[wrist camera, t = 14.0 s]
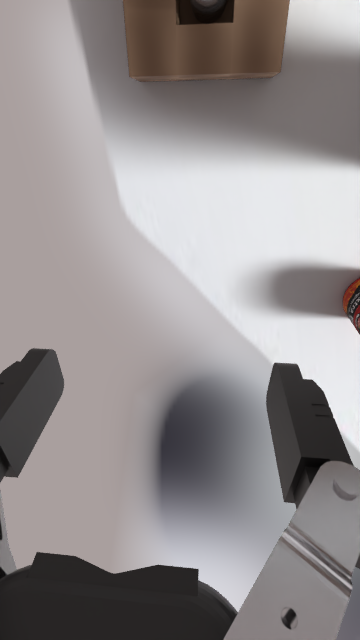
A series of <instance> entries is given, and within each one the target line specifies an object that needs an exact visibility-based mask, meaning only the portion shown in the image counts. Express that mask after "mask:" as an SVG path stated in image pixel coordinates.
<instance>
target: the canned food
mask: <svg viewBox="0 0 360 640" xmlns="http://www.w3.org/2000/svg"><path fill="white" fill-rule="evenodd" d="M343 308H344V311H345V313H346V314H347V316H348V317H349V319H350V320H351V322H352V323H353V325H354V326H355V328H356V330H357V331H358V333H359V334H360V278H359V279H357V280H356V281H355V282H353V283H352V284H351V285H350V286H349V287H348V289H347V290H346V292H345V294H344V297H343Z"/></svg>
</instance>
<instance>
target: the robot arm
mask: <svg viewBox="0 0 360 640" xmlns="http://www.w3.org/2000/svg"><path fill="white" fill-rule="evenodd" d="M63 388H64V379H63V376H62V372H61V368H60V365H59V362H58V358H57V355H56V352H55V351H54V350H52V349H34V348H33V349H31V350H29V351H28V353H27V354H26V355H25V357H24V358H23V359H22V361H21V362H18V361H16V362H15V363H13V364H12V365H11V366H9V367H8V368H7V369H5V370H4V371H3V372H2V373H1V374H0V482H1V480H2V479H3V477H4V476H6V477H18V476H19V474H20V472H21V470H22V468H23V467H24V465H25V463H26V461H27V459H28V457H29V455H30V453H31V452H32V450H33V448H34V446H35V444H36V442H37V440H38V438H39V437H40V435H41V433H42V431H43V429H44V427H45V425H46V423H47V422H48V420H49V418H50V416H51V414H52V412H53V410H54V408H55V407H56V405H57V403H58V401H59V399H60V397H61V395H62V392H63ZM266 399H267V400H266V402H267V403H266V405H267V413H268V418H269V424H270V429H271V434H272V440H273V445H274V450H275V456H276V461H277V467H278V472H279V477H280V483H281V488H282V493H283V499H284V502H288V503H295V504H296V509H297V510H296V512H295V514H294V516H293V518H292V519H291V521H290V523H289V525H288V527H287V528H286V529H285V530H284V532H283V533H282V535H281V537H280V538H279V540H278V542H277V544H276V545H275V547H274V549H273V551H272V553H271V555H270V556H269V558H268V560H267V562H266V563H265V565H264V567H263V569H262V571H261V572H260V574H259V576H258V578H257V580H256V582H255V583H254V585H253V587H252V589H251V591H250V592H249V594H248V596H247V598H246V600H245V601H244V604H243V605H242V607H241V609H240V610H239V612H237V611H236V610H235V608H234V607H233V606H232V605H231V604H230V603H229V602H228V601H227V599H225V598H224V597H223V596H222V595H221V594H220V593H219V592H217V591H216V590H215V589H213V588H212V587H210V586H209V585H207V584H205V583H203V582H201V581H199V580H198V569H193V568H183V567H173V566H164V565H155V566H150V567H145V568H141V569H136V570H132V571H127V572H122V573H117V574H113V573H109V572H107V571H105V570H103V569H101V568H99V567H97V566H95V565H93V564H91V563H89V562H86V561H84V560H82V559H80V558H78V557H76V556H68V555H59V554H50V553H40V552H37V553H36V556H35V558H34V561H33V564H32V565H29V566H26V567H24V568H21V569H18V570H17V569H16V565H15V562H14V559H13V556H12V554H11V551H10V548H9V544H8V538H7V531H6V524H5V518H4V512H3V504H2V497H1V491H0V640H336V637H337V634H338V631H339V628H340V625H341V622H342V619H343V616H344V614H345V611H346V607H347V605H348V601H349V599H350V595H351V591H352V582H351V578H352V574H353V570H354V568H355V567H357V568H359V569H360V470H359V469H357V468H356V467H354V465H353V463H352V461H351V459H350V456H349V454H348V451H347V449H346V447H345V444H344V441H343V439H342V437H341V434H340V432H339V429H338V427H337V424H336V422H335V419H334V418H333V414H332V412H331V409H330V407H329V404H328V402H327V399H326V397H325V394H324V392H323V391H322V389H321V388H320V387H319V386H318V385H317V384H316V383H315V382H314V381H313V380H307V379H303V378H302V375H301V372H300V369H299V367H298V365H297V364H289V363H274V365H273V368H272V373H271V377H270V382H269V386H268V391H267V397H266Z"/></svg>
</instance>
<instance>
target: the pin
mask: <svg viewBox="0 0 360 640" xmlns="http://www.w3.org/2000/svg"><path fill="white" fill-rule="evenodd" d="M190 4H191V8H192V11H193V14H194V15H195V17H196V18H197V19H198V20H199V21H200V22H202V23H205V24H210V23H213V22H215V21H217V20H218V19H219V18H220V17H221V15H222V14H223V12H224V10H225V7H226V4H227V0H190Z"/></svg>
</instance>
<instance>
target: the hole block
mask: <svg viewBox="0 0 360 640" xmlns="http://www.w3.org/2000/svg"><path fill="white" fill-rule="evenodd" d="M289 2H290V0H227V4H226V7H225V10H224V12H223V14H222V15H221V17H220V18H219V19H218V20H217V21H215V22H213V23H210V24H205V23H202V22H200V21H199V20H198V19H197V18H196V17H195V15H194V14H193V11H192V8H191V4H190V0H123V6H124V18H125V30H126V41H127V53H128V65H129V77H131V78H133V79H136V80H138V81H140V82H146V81H180V80H214V79H247V78H272V77H273V76H275V75H277V74H278V73H280V72H281V64H282V56H283V48H284V41H285V33H286V25H287V17H288V10H289Z"/></svg>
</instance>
